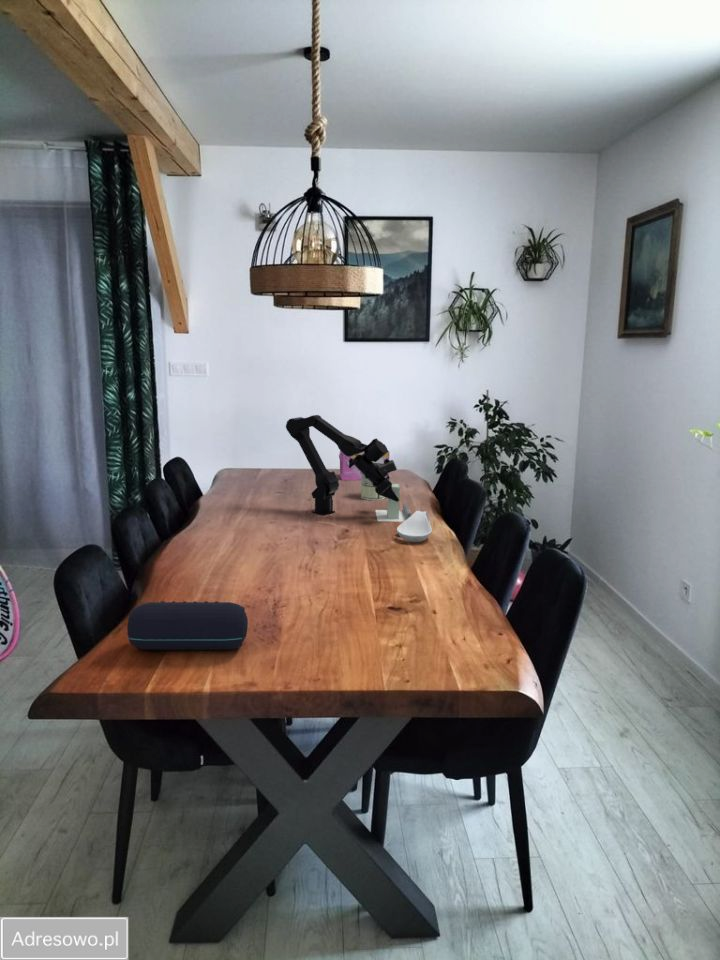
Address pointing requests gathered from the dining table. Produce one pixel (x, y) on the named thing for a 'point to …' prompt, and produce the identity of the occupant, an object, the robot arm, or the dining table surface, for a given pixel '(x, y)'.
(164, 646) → the portable speaker
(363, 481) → the coffee can
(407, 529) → the spoon rest
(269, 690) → the dining table surface
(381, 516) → the white plate with rail
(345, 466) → the pink printed box
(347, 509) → the dining table surface
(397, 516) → the green carton
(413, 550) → the dining table surface
